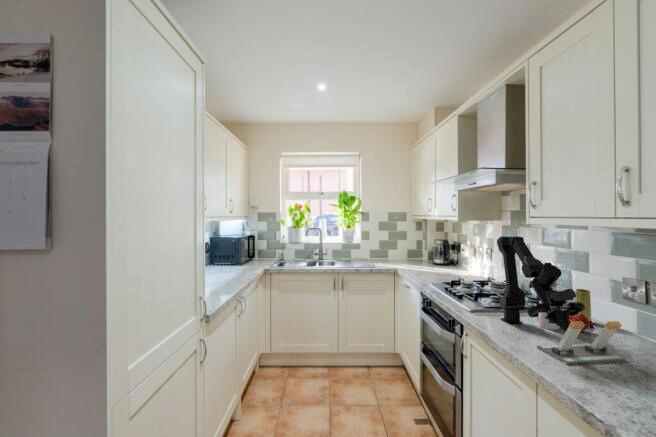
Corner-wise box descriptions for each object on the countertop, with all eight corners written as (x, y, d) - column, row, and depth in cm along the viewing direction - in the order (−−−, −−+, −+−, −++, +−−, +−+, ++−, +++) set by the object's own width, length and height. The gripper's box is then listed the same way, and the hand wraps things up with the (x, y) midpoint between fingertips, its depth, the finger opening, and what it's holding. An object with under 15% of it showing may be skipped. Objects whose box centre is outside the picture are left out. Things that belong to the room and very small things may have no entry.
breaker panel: (536, 347, 118) (536, 341, 118) (589, 344, 120) (590, 338, 120) (566, 364, 105) (567, 357, 105) (625, 361, 107) (625, 354, 107)
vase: (577, 322, 144) (578, 291, 144) (571, 318, 150) (572, 288, 149) (593, 324, 142) (594, 292, 142) (586, 319, 148) (587, 289, 148)
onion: (582, 329, 136) (583, 310, 136) (592, 334, 131) (593, 315, 130) (568, 328, 137) (568, 310, 137) (577, 333, 131) (578, 314, 131)
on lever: (588, 347, 114) (607, 321, 107) (597, 346, 115) (617, 321, 107) (591, 351, 113) (611, 325, 106) (601, 350, 113) (621, 325, 106)
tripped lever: (555, 349, 113) (571, 321, 106) (565, 348, 113) (581, 321, 107) (558, 353, 111) (574, 325, 105) (568, 352, 112) (585, 324, 105)
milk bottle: (540, 328, 137) (540, 282, 136) (537, 322, 144) (538, 279, 143) (561, 331, 133) (562, 284, 133) (558, 325, 140) (559, 280, 140)
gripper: (533, 281, 113) (559, 322, 102) (581, 279, 115) (611, 320, 104) (517, 297, 121) (539, 337, 110) (562, 295, 123) (588, 334, 112)
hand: (569, 332), depth 109 cm, fingers closed, pressing on tripped lever
